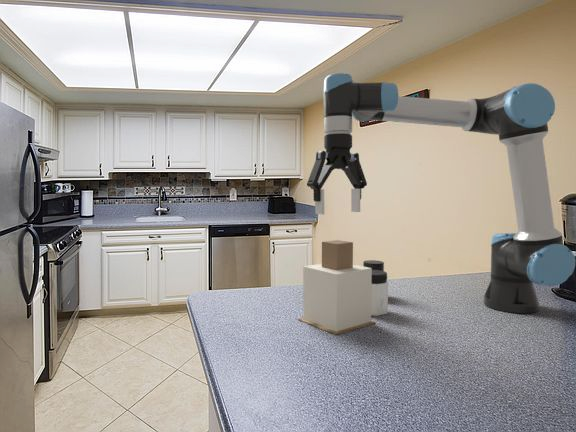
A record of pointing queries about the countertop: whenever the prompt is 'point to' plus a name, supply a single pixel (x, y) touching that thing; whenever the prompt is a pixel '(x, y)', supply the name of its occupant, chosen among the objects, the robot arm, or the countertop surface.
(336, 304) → the cover
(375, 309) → the jar
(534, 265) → the robot arm
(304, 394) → the countertop surface
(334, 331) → the plate
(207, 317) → the countertop surface
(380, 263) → the ink bottle
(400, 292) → the countertop surface
